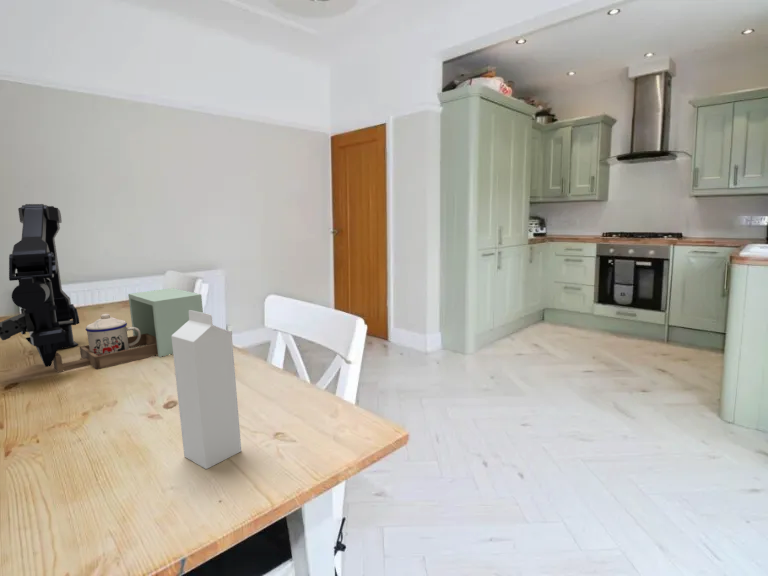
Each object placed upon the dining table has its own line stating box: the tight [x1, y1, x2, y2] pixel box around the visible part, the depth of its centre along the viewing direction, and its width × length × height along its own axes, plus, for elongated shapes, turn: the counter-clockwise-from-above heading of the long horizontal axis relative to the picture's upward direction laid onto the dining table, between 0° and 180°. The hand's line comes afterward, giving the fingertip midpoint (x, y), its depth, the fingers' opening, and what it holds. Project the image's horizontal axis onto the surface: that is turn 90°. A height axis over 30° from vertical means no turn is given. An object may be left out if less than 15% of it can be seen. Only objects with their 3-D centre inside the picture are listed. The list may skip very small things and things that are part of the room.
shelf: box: [127, 287, 204, 358], centre depth 123 cm, size 19×12×15 cm, turn 47°
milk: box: [171, 310, 242, 470], centre depth 64 cm, size 6×6×22 cm
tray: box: [52, 333, 158, 373], centre depth 113 cm, size 14×23×4 cm, turn 137°
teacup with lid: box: [85, 313, 141, 356], centre depth 114 cm, size 12×9×12 cm
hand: (47, 366), depth 104 cm, fingers closed, pressing on tray
